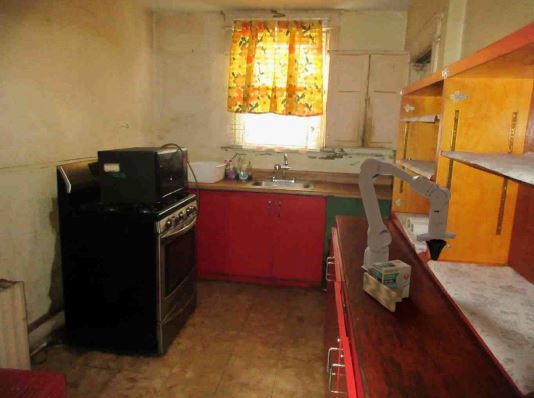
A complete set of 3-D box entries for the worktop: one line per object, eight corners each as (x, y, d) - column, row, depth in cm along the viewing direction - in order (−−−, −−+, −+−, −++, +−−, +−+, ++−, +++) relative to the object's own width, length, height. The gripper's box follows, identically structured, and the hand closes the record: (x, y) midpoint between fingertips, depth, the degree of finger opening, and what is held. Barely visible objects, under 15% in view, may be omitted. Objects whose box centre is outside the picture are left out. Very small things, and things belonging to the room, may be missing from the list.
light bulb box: (381, 301, 121) (384, 269, 119) (369, 292, 128) (371, 262, 126) (409, 297, 125) (412, 266, 123) (396, 288, 131) (398, 259, 129)
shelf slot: (363, 289, 130) (364, 267, 129) (381, 286, 132) (383, 265, 131) (391, 312, 114) (393, 287, 113) (412, 309, 116) (414, 284, 115)
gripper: (427, 226, 124) (423, 265, 127) (463, 223, 128) (459, 261, 131) (413, 221, 131) (410, 258, 133) (448, 218, 135) (445, 255, 137)
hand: (434, 259), depth 132 cm, fingers closed
